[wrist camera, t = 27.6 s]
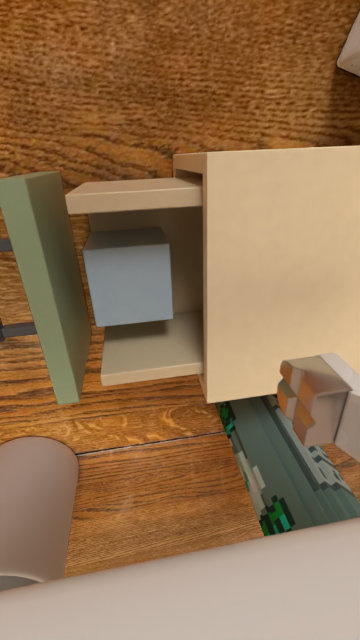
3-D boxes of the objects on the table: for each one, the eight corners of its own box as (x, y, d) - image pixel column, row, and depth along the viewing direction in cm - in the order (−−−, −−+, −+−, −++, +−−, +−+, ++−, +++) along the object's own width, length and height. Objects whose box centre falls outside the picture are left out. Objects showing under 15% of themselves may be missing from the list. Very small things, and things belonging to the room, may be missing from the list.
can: (203, 400, 30) (264, 585, 17) (249, 358, 29) (354, 526, 16) (243, 426, 33) (322, 605, 20) (287, 389, 32) (404, 555, 18)
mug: (-32, 451, 29) (-111, 600, 19) (58, 424, 29) (26, 557, 19) (29, 521, 34) (-7, 663, 25) (104, 498, 35) (97, 629, 25)
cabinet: (179, 324, 26) (206, 404, 18) (172, 154, 20) (206, 151, 12) (341, 306, 28) (435, 370, 20) (376, 145, 22) (532, 138, 14)
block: (89, 231, 20) (81, 250, 16) (160, 226, 20) (169, 243, 16) (101, 297, 22) (96, 328, 18) (164, 290, 22) (173, 319, 18)
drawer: (13, 342, 24) (-32, 418, 17) (-43, 175, 18) (-143, 186, 11) (244, 316, 26) (288, 373, 19) (254, 161, 20) (320, 162, 14)
